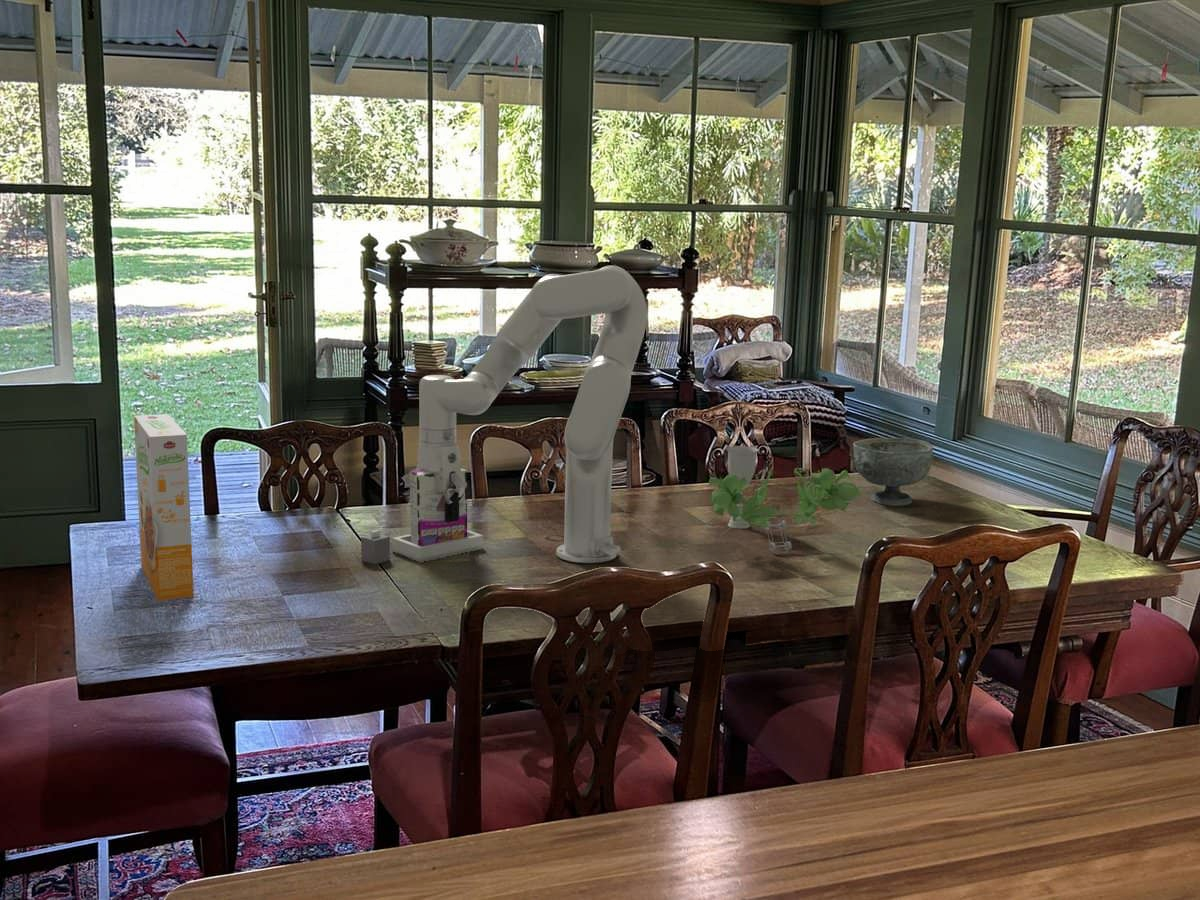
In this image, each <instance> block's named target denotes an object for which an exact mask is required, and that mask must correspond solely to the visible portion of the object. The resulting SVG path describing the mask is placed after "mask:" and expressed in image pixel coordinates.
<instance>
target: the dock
mask: <svg viewBox="0 0 1200 900" xmlns="http://www.w3.org/2000/svg"><path fill="white" fill-rule="evenodd" d="M391 545H392V546H391V551H393V552H392V553H394V552H395V554H397V553H398V554H397V555H399V554H401V555H400V556H402V555H404V556H406V557H405V558H407V557H408V558H407V559H409V558H411V559H410V560H412V559H413V560H412V561H414V560H416V561H415V562H417V561H418V562H417V563H420V562H421V563H425V562H424V561H426V562H429V561H430V560H431V561H434V560H439V558H440V559H445V558H448V557H447V556H449V557H453V556H452V555H454V556H458V555H462V554H461V553H463V554H466V553H465V552H467V553H472V552H476V551H479V550H483V549H484V535H483V534H480V533H478V532H475V531H471V530H468V529H467V537H465V538H460V539H455V540H450V541H445V542H441V543H436V544H431V545H426V546H419V545H416V544H413V543H411V533H410V534H404V535H401V536H399V535H398V536H395V537H392V538H391ZM471 551H472V552H471ZM457 554H458V555H457ZM404 556H403V557H404Z"/></svg>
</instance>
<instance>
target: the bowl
mask: <svg viewBox="0 0 1200 900" xmlns="http://www.w3.org/2000/svg"><path fill="white" fill-rule="evenodd" d="M852 444H853V459H854V460H853V462H854V464H855V465H854V466H855V468H856V470H857V473H858V474H859V475H861V477H862V478H863V479H865V480H866V481H867V482H868V483H871V484H873V485H875V486H885V488H884V490H879V491H875V492H874V493H872V495H871V497H870V499H871V500H872V501H873V502H875V503H877V504H881V505H885V506H892V507H893V506H894V507H895V506H898V507H900V506H908V505H911V504H912V503H913V499H912V497H911V495H910V494H907V493H906V492H903V491H901V490H900V487H903V486H910V485H911V486H912V485H914V484H917V483H919V482H921V481H923V480H924V479H925V478H926V477H927V476H928V474H929V473H930V471H931V469H932V468H931V467H932V463H933V457H934V452H933V448H934V447H933V444H932V443H929V441H926V440H922V439H915V438H906V437H904V438H903V437H887V438H886V437H885V438H884V437H877V438H867V439H861V440H857V441H855V442H853V443H852Z"/></svg>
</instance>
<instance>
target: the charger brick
mask: <svg viewBox="0 0 1200 900" xmlns="http://www.w3.org/2000/svg"><path fill="white" fill-rule="evenodd" d="M380 532H381V530H379V529H376V530H371V531H370V534H367V535H364V536H361V537H360V540H361V541H360V548H361V551H360V553H361V555H360V556H361V557H360V559H361V560H360V561H361V562H365V563H369V564H372V565H378V564H381V563H385V561H386V562H388V560H389V561H390V560H391V559H390V558H391V555H390V554H391V553H390V552H391V550H390V549H391V547H390V546H391V544H390V543H391V541H390V540H391V539H390V535H389V536H388V535H385V534H381V533H380Z"/></svg>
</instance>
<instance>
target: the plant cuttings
mask: <svg viewBox="0 0 1200 900" xmlns="http://www.w3.org/2000/svg"><path fill="white" fill-rule="evenodd" d="M798 470H799V471H798ZM803 471H804V472H806V474H804V476H803V475H802V474H801V473H803ZM762 472H767V476H766V479H765V480H764V481H762V480H760V479H759V476H760V475H761V474H762ZM772 474H773V471H772V470H771V469H769V470H766V469H762V470H760V471H759V472H758V473H757V474H755V479H756V480H757V481H758V482H761V483H763V484H762V485H761V486H760V487H758V488H756V489H755V490H754V491H755V492H754V494H753V495H752V496H751V497H750V498H749V499H748V500H747V501H746V499H745V496H744V494H743V495H742V494H740V493H739V492H740V491H741V490H742V489H743V490H744V488H745V489H746V490H747V491H752V490H753V489H754V485H753V484H749V485H748V486H747V481H746V478H745V477H744V478H742V479H741V480H739V479H738V477H737V476H736V475H735V473H730V474H729V473H728V474H727V475H726V476H725V477H723V478H722V476H719V478H717V477H714V476H712V477H710V478H709V480H708V487H710V486H711V485H714V486H718V487H717V488H715V489H714V490H712V492H711V496H710V497H711V498H710V499H711V503H713V507H712V508H713V510H712V512H713V513H715V515H714V517H713V518H712V519H711V520H708V522H705V523H699V525H700V526H706V525H709V524H711V523H712V522H713V521H714V519H715V518H716V517H717V515H718V516H720V517H724V513H725V509H726V512H727V513H728V515H730V516H731V517H732V518H733V522H735V521H736V518H738V517H740V518H741V519H743V520H744V521H746V522H748V524H749V525H750V524H751V525H755V526H760V528H761V529H762V530H764V531H766V533H767V536H768V540H769V549H770V551H772V553H774V554H776V555H777V554H779V555H781V554H780V552H777V548H782V547H783V548H784V549H785V552H784V554H786V553H787V552H789V551H791V549H792V542H791V541H790V540H789V541H788V540H787V536H786V535H787V533H790V532H791V531H793V530H794V529H795V528H796V527H797V526H799V525H801V523H802V522H804V521H807V522H810V523H809V525H810V527H814V526H816V524H817V520H818V514H816V515H815V516H814V514H815V512H817V511H818V510H819V507H820V508H822V509H824V510H828V511H829V510H841V511H842V512H846V509H847V506H848V505H850V504H851V502H849V501H853V500H854V499H856V498H858V496H859V495H860V494H861V491H860V490H859V488H858V486H856V484H854V483H853V482H850V481H841V480H844V479H846V478H848V479H850V475H849V474H850V473H849V472H848V470H846V469H845V470H842V471H841V472H840V473H839V475H838V476H836V474H835V472H834V471H833V470H831V469H830V468H826V467H825V468H821V472H820V470H819V469H818V470H817V472H810V475H811V476H812V481H813V482H812V481H809V479H808V478H809V477H810V476H809V471H806V469H805V468H802V467H797V468H794V475H795V476H796V478H798V479H799V480H801V481H802V484H803V487H802V485H801V484H800V483H799V481H798V479H796V484H797V485H796V487H797V493H798V502H797V504H796V507H795V511H796V513H794V517H795V522H796V523H798V524H796V525H795V526H793V527H792V528H791V529H790V530H788V531H787V532H786V528H787V522H786V520H785V519H784V520H783V519H782V518H781V517H776V516H777V515H779V514H785V513H790V512H791V511H790V509H789V510H778V509H775V508H772V507H769V506H770V505H769V504H768V502H769V501H770V500H771V491H770V490H769V487H768V481H769V479H770V478H771V476H772ZM758 475H759V476H758ZM804 477H805V478H804ZM839 481H841V482H839ZM838 482H839V483H838ZM837 483H838V484H837ZM746 487H747V488H746ZM749 487H751V488H750V489H749ZM811 489H812V490H811ZM767 492H768V494H769V499H768V500H766V501H765V498H766V497H767ZM744 502H745V504H744ZM740 503H742V504H743V505H744V506H743V507H742V512H741V516H740V510H739V508H738V506H737V504H740ZM766 503H767V504H766ZM762 504H763V505H766V506H761V505H762ZM798 505H800V506H798ZM798 512H800V513H798ZM773 516H774V517H773ZM773 518H774V519H777V520H778V522H777V523H778V524H771V521H770V519H773ZM779 519H780V520H781V521H780V520H779ZM743 520H740V521H743ZM740 521H737V522H740ZM735 524H736V523H735ZM735 524H734V525H735ZM734 525H733V526H734ZM772 527H779V531H780V533H781V538H782V541H783V542H782V541H779V542H778V544H783V545H776V542H774V538H773V535H772V532H773V531H777V529H772V530H771V528H772ZM731 528H732V526H731V527H729V528H727V529H726V530H724V531H723V532H722V533H721V534H720V535H719V536H718V537H717V539H720V538H721V537H722V536H723V535H725V534H726V533H727V532H728V531H729V530H730V529H731ZM782 530H783V532H782ZM769 532H770V535H771V539H772V542H771V539H770V535H769ZM783 533H784V536H783ZM784 538H785V541H784Z"/></svg>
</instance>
